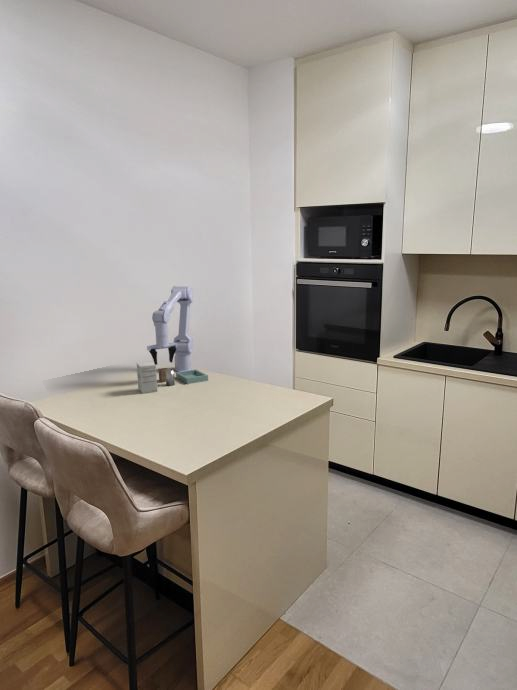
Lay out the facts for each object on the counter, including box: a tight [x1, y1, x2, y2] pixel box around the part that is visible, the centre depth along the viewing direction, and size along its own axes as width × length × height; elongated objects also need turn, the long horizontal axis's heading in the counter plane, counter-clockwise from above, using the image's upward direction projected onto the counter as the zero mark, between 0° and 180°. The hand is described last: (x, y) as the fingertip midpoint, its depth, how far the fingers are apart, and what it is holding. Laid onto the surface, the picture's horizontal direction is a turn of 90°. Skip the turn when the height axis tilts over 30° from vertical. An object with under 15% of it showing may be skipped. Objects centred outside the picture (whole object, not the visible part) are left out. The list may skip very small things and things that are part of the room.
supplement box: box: [136, 361, 158, 394], centre depth 215 cm, size 7×7×13 cm
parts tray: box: [175, 369, 209, 385], centre depth 233 cm, size 14×11×3 cm
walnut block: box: [158, 367, 170, 383], centre depth 231 cm, size 4×4×6 cm
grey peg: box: [165, 368, 176, 387], centre depth 224 cm, size 4×4×7 cm
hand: (163, 363), depth 229 cm, fingers open, 7 cm apart
